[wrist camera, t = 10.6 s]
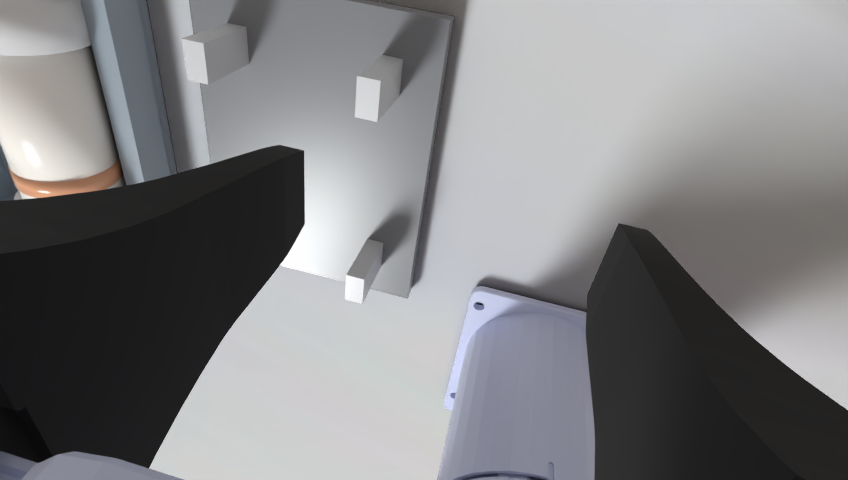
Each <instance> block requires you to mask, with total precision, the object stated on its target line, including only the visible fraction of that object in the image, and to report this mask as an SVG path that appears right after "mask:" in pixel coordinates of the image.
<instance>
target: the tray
mask: <svg viewBox="0 0 848 480" xmlns="http://www.w3.org/2000/svg"><path fill="white" fill-rule="evenodd" d="M81 4H82V8H83V12H84V16H85V20H86V24H87V28H88V33H89V37H90V41H91V46H92V50H93V54H94V58H95V62H96V66H97V70H98V74H99V78H100V82H101V86H102V90H103V94H104V98H105V102H106V106H107V110H108V114H109V118H110V122H111V126H112V130H113V134H114V138H115V142H116V147H117V150H118V153H119V157H120V161H121V165H122V170H123V174H124V178H125V182H126V185H132V184H137V183H141V182H146V181H150V180H154V179H159V178H162V177H166V176H170V175H173V174H177V170H176V165H175V159H174V154H173V148H172V142H171V137H170V131H169V125H168V120H167V114H166V108H165V103H164V97H163V91H162V86H161V80H160V75H159V69H158V63H157V58H156V52H155V46H154V41H153V35H152V29H151V24H150V18H149V12H148V7H147V1H146V0H81ZM8 165H9V164H8V162H7V159H6V157H5V154H4V152H3V149H2V147H1V144H0V201H6V200H14V197H15V194H16V192H17V191H18V189H17V188H16V186H15V184H14V181H13V179H12V176H11V174H10V171H9V168H8Z"/></svg>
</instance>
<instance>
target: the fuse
mask: <svg viewBox="0 0 848 480" xmlns="http://www.w3.org/2000/svg"><path fill="white" fill-rule="evenodd" d="M0 144H1V147H2V149H3V152H4V154H5V157H6V159H7V162H8V164H9V165H8V168H9V171H10V174H11V176H12V179H13V181H14V184H15V186H16V188H17V189H18V191H17V192H16V194H15V197H14V200H19V199H33V198H43V197H51V196H59V195H67V194H75V193H84V192H92V191H98V190H105V189H110V188H116V187H121V186H126V182H125V178H124V174H123V170H122V165H121V161H120V157H119V153H118V150H117V147H116V142H115V138H114V134H113V130H112V126H111V122H110V118H109V114H108V110H107V106H106V102H105V98H104V94H103V90H102V86H101V82H100V78H99V74H98V70H97V66H96V62H95V58H94V54H93V50H92V46H91V41H90V37H89V33H88V28H87V24H86V20H85V16H84V12H83V8H82V4H81V0H0Z"/></svg>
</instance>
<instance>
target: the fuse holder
mask: <svg viewBox="0 0 848 480" xmlns="http://www.w3.org/2000/svg"><path fill="white" fill-rule="evenodd" d="M189 4H190V12H191V19H192V27H193V34H194V35H191V36H188V37H185V38H182V46H183V53H184V60H185V67H186V74H187V80H189V81H194V82H198V83H200V88H201V95H202V103H203V111H204V118H205V126H206V133H207V141H208V149H209V156H210V164H213V163H216V162H219V161H222V160H226V159H229V158H232V157H235V156H238V155H242V154H245V153H248V152H252V151H255V150H259V149H262V148H266V147H270V146H276V145H282V146H287V147H291V148H295V149H300V150H304V187H305V224H304V226H303V228H302V230H301V232H300V234H299V236H298V237H297V239H296V241H295V243H294V245H293V246H292V248H291V250H290V251H289V253H288V255H287V256H286V258H285V259H284V260H283V262H282V263H281V264H280V265H281V266H284V267H288V268H292V269H296V270H300V271H304V272H307V273H311V274H315V275H319V276H323V277H327V278H331V279H334V280H338V281H342V282H346V287H345V300H349V301H353V302H356V303H360V304H363V302H364V300H365V298H366V296H367V294H368V292H369V290H370V289H373V290H377V291H381V292H384V293H388V294H392V295H396V296H400V297H404V298H408V296H409V293H410V291H411V288H412V282H413V275H414V269H415V263H416V256H417V250H418V243H419V237H420V231H421V224H422V218H423V212H424V205H425V199H426V193H427V186H428V180H429V174H430V167H431V161H432V155H433V148H434V142H435V135H436V129H437V123H438V116H439V110H440V104H441V97H442V91H443V85H444V78H445V72H446V66H447V59H448V53H449V47H450V40H451V34H452V28H453V21H454V16H450V15H445V14H440V13H435V12H429V11H424V10H419V9H414V8H409V7H404V6H398V5H393V4H388V3H383V2H378V1H373V0H189Z"/></svg>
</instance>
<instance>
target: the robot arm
mask: <svg viewBox="0 0 848 480" xmlns="http://www.w3.org/2000/svg"><path fill="white" fill-rule="evenodd" d="M304 224H305V187H304V150H300V149H295V148H291V147H287V146H282V145H276V146H270V147H266V148H262V149H259V150H255V151H252V152H248V153H245V154H242V155H238V156H235V157H232V158H229V159H226V160H222V161H219V162H216V163H213V164H209V165H206V166H203V167H199V168H196V169H192V170H188V171H184V172H181V173H177V174H173V175H170V176H166V177H162V178H159V179H154V180H150V181H146V182H141V183H137V184H132V185H126V186H121V187H116V188H110V189H105V190H98V191H92V192H84V193H75V194H67V195H59V196H51V197H43V198H33V199H19V200H6V201H0V480H183V479H180V478H177V477H174V476H171V475H167V474H164V473H161V472H158V471H155V470H152V469H149V467H150V465H151V463H152V461H153V459H154V457H155V455H156V453H157V451H158V449H159V447H160V446H161V444H162V442H163V440H164V438H165V436H166V435H167V433H168V431H169V429H170V427H171V425H172V424H173V422H174V420H175V418H176V416H177V414H178V412H179V411H180V409H181V407H182V405H183V404H184V402H185V400H186V399H187V397H188V395H189V393H190V392H191V390H192V388H193V387H194V385H195V383H196V381H197V380H198V378H199V376H200V375H201V373H202V371H203V370H204V368H205V366H206V365H207V363H208V362H209V360H210V358H211V357H212V355H213V354H214V352H215V350H216V349H217V347H218V346H219V344H220V342H221V341H222V339H223V338H224V336H225V335H226V333H227V332H228V331H229V329H230V328H231V326H232V325H233V324H234V322H235V321H236V320H237V318H238V317H239V316H240V315H241V313H242V312H243V311H244V310H245V308H246V307H247V306H248V305H249V303H250V302H251V301H252V300H253V298H254V297H255V296H256V295H257V293H258V292H259V291H260V290H261V288H262V287H263V286H264V285H265V283H266V282H267V281H268V280H269V278H270V277H271V276H272V274H273V273H274V272H275V271H276V269H277V268H278V267H279V265H280V264H281V263H282V262H283V260H284V259H285V258H286V256H287V255H288V253H289V251H290V250H291V248H292V246H293V245H294V243H295V241H296V239H297V237H298V236H299V234H300V232H301V230H302V228H303V226H304ZM476 302H481V303H483V305H478V304H476ZM444 407H445V408H446V409H447V410H448V411H451V412H452V414H451V418H450V423H449V427H448V432H447V437H446V441H445V446H444V450H443V455H442V460H441V464H440V469H439V473H438V478H437V480H848V410H846V409H845V408H844V407H842V406H841V405H839V404H838V403H836V402H835V401H834V400H832V399H831V398H830V397H828V396H827V395H825V394H824V393H823V392H821V391H820V390H818V389H817V388H816V387H814V386H813V385H811V384H810V383H809V382H807V381H806V380H804V379H803V378H802V377H801V376H799V375H798V374H797V373H795V372H794V371H793V370H791V369H790V368H789V367H787V366H786V365H785V364H784V363H782V362H781V361H780V360H779V359H778V358H776V357H775V356H774V355H773V354H772V353H770V352H769V351H768V350H767V349H766V348H764V347H763V346H762V345H761V344H760V343H758V342H757V341H756V340H755V339H754V338H753V337H751V336H750V335H749V334H748V333H747V332H746V331H745V330H744V329H742V328H741V327H740V326H739V325H738V324H737V323H736V322H735V321H734V320H733V319H732V318H731V317H730V316H729V315H728V314H727V313H726V312H725V311H724V310H723V309H722V308H721V307H720V306H719V305H717V304H716V302H715V301H714V300H713V299H712V298H711V297H710V296H709V295H708V294H707V293H706V292H705V291H704V290H703V289H702V288H701V287H700V286H699V285H698V284H697V283H696V282H695V280H694V279H693V278H692V277H691V276H690V275H689V274H688V273H687V272H686V271H685V270H684V268H683V267H682V266H681V265H680V264H679V263H678V262H677V261H676V259H675V258H674V257H673V256H672V255H671V254H670V253H669V252H668V251H667V249H666V248H665V247H664V246H663V245H662V244H661V243H660V242H659V241H658V240H657V239H656V238H655V237H654V236H653V235H652V234H651V233H650V232H649V231H648V230H645V229H641V228H636V227H632V226H628V225H623V224H618V226H617V228H616V231H615V233H614V235H613V238H612V240H611V242H610V244H609V247H608V249H607V251H606V254H605V256H604V258H603V260H602V263H601V265H600V267H599V270H598V272H597V274H596V276H595V279H594V281H593V283H592V286H591V288H590V290H589V292H588V297H587V312H583V311H579V310H575V309H571V308H567V307H564V306H560V305H556V304H552V303H548V302H544V301H540V300H536V299H532V298H528V297H524V296H520V295H516V294H512V293H508V292H504V291H500V290H496V289H492V288H488V287H484V286H478V287H475V288H474V289H473V290H472V293H471V297H470V301H469V305H468V309H467V313H466V317H465V321H464V325H463V329H462V333H461V337H460V341H459V344H458V348H457V352H456V356H455V360H454V364H453V368H452V372H451V376H450V380H449V384H448V388H447V392H446V396H445V400H444Z"/></svg>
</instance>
